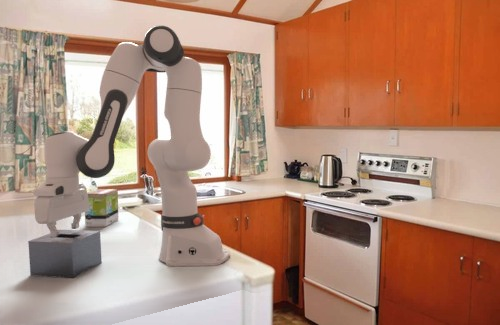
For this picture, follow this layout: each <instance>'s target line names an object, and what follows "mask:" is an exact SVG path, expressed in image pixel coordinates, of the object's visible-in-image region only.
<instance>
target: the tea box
mask: <svg viewBox="0 0 500 325" xmlns="http://www.w3.org/2000/svg"><path fill="white" fill-rule="evenodd" d="M87 194H88V200H89V209H88V211H86V212H84V227H86V228H87V227H89V228H90V227H91V228H98V227H99V228H100V227H109V225H111V224H113V223H114V222H117V221H119V193H118V189H117V188H116V189H115V188H111V189H110V188H108V189H105V188H104V189H101V188H99V189H95V190H92V191H89V192H88V191H87Z"/></svg>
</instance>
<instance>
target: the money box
mask: <svg viewBox="0 0 500 325" xmlns="http://www.w3.org/2000/svg"><path fill="white" fill-rule="evenodd" d="M58 230H59V235H58V236H56V237H51V234H50V233H47V234H46V235H45V234H44V235H42V236H39V237H36V238H34V239H31V240H29V241H28V243H27V244H28V257H29V258H28V259H29V272H30V273H29V274H30V275H29V276H31V277H32V276H33V277H34V276H36V277H50V278H53V277H54V278H63V279H64V278H66V279H67V278H68V279H74V278H76V277H78V276H79V275H82V274H83V273H85V272H87V271H89V270H91V269H93V268H94V267H96V266H98V265H100V264H101V263H102V243H101V241H102V240H101V231H100V230H83V229H80V230H79V229H78V230H77V229H58Z"/></svg>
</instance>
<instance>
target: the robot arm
mask: <svg viewBox="0 0 500 325" xmlns="http://www.w3.org/2000/svg"><path fill="white" fill-rule="evenodd" d="M142 42H143V43H140V44H135V43H133V42H128V41H126V42H125V41H124V42H121V43H119V44H117V46H116V47H115V49H114V50H113V52H112V53H111V56H110V57H109V58H108V61H107V63H106V65H105V69H104V71H103V74H102V76H101V81H100V86H99V96H100V104H101V105H100V109H99V110H100V111H99V114H98V116H97V121H96V123H95V125H94V128H93V132H92V134H91V137H90V138H89V139H88V138H86V137H83V136H81V135H79V134H77V133H75V132H74V131H72V130H65V131H60V132H55V133H52V134H49V135H48V136H47V138H46V139H45V142H44V164H45V166H46V174H45V181H44V182H42V183H41V184H39V185H38V186H36V187H35V188H34V189H33V196H34V197H35V199H34V219H35V222H36V223H37V224H38V225H39V224H41V225H46V227H47V228H48V230H49V231H50V233H49V234H51V237H56V236H58V235H59V230H60V229H58V228H57V227H56V225H57V222H58V221H61V220H64V219H66V218H70V217H73V219H72V222H71V223H70V225H71V230H77V229H79V228H80V222H81V219H82V213H85V212H86V211H88V209H89V200H88V194H87V193H88V191H87V189H86V186H85V185H84V184H83V182H80V178H79V173H81V174H82V175H84V176H86V177H88V178H91V179H99V178H103V177H105V176H107V175H108V174H109V173H110V172H111V171H112V170H113V168H114V166H115V162H116V161H115V160H116V158H115V151H114V150H115V149H114V147H115V141H116V140H117V139H116V138H117V135H118V133H119V129H120V126H121V123H122V121H123V117H124V115H125V113H126V112H127V110H128V109H129V107H130V105H131V104H132V102H133V100H134V98H135V97H136V94H137V93H138V90H139V88H140V85H141V83H142V79H143V76H144V75H145V73H146V72H149V73H151V72H153V73H166V77H167V78H166V79H167V81H166V82H167V83H166V91H165V101H164V102H165V103H164V112H163V113H164V117H165V119H166V120H167V121H168V124H169V131H170V135H164V136H160V137H157V138H155V139H154V140H152V141H150V143H149V145H148V147H147V158H148V160H149V163H151V164H152V166H153V168H154V170H155V173H156V177H157V179H158V182H159V187H160V192H161V196H160V197H161V212H162V214H161V216H160V219H161V220H160V228H161V231H162V238H161V247H160V251H159V255H158V260H159V261H160V262H161V263H162V262H163V263H165V265H166V266H168V267H182V266H183V267H186V266H187V267H188V266H189V267H191V266H193V267H195V266H196V267H197V266H200V267H201V266H202V267H203V266H218V265H220V264H223V263H224V262H226V261H227V260H228V259H229V257H230V251H229V250H228V249H224V248H223V244H222V239H221V237H220V235H218V234H217V233H216V232H214V231H213V230H212V229H210V228H209V227H207V225H205V224H204V219H205V214H203V215H202V214H201V213H199V212H198V195H197V193H198V192H197V187H196V186H195V184H193V182H192V180H191V178H190V176H189V172H193V171H194V172H195V171H199V170H201V169H204V168H205V167H206V166H208V165H209V164H208V163H209V162H210V160H211V155H212V154H211V148H210V145H209V144H208V142H207V141H206V140H205V138H204V135H203V132H202V128H201V121H200V118H201V117H200V115H201V102H202V90H203V78H202V77H203V76H202V75H203V74H202V66H201V64H200V63H199V62H198V61H197V60H195V59H193V58H192V57H187V56H184V55H185V50H184V48H183V45H182V43H181V41H180V39H179V37H178V35H177V33H176V32H175V31H174V30H173V29H172V28H170V27H168V26H167V25H166V26H165V25H155V26H153V27H151V28H150V29H149V30H148V31H147V32H146V33H145V35H144V37H143V41H142Z"/></svg>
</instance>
